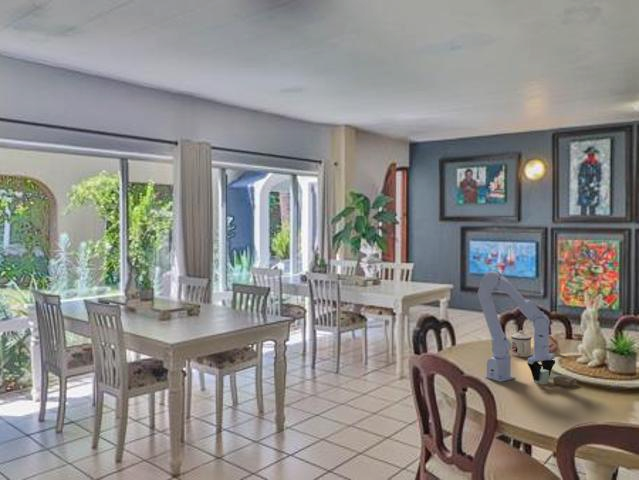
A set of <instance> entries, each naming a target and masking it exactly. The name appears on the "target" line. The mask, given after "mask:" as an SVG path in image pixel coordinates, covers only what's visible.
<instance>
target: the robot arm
mask: <svg viewBox="0 0 639 480" xmlns="http://www.w3.org/2000/svg"><path fill="white" fill-rule="evenodd" d="M495 288H496V290H499V291H504V292H505V293H506V294H507V295H508V296H509V297H511V299H513V301H515V302H516V304H517V305H518V310H519V312H520V313H522V314H523V315H524V316H525V317H526V319H527V320H529V322H531V323H532V326H533V328H534V329H533V330H534V333H533V355H531V356H529V357H527V362H526V363H527V366H528V368H529V369H530V372H531V376H532V379H533V381H534V380H536V381H539V378H540V370H541V369H545V370H549V377H550V375H551V374H552V369H553V367H554V365H555V364H556V360H554V359H556V355H555V354H553V353H550V352H549V335H550V318H549V316H548V315H547V314H545V312H544V311H541V310H540V308H539V307H537V306H536V302H534V301H532V300H530V299H525V298H524V296H522V294H521V293H520V292H519V291H518V290H517V289H516V288H515V287H514V285H513V284H512V283H511V282H510V281H509V280H508V279H507V277H506V276H504V275H502V273H501V272H499V270H490V271H488V272H487V273H485V274H484V275H483V276H482V278H481V279H480V283H479V288H478V290H477V297H478V300H479V303H480V306H481V309H482V312H483V314H484V318H485V321H486V325H487V328H488V330H489V331H488V332H489V333H490V339H491V340H490V341H491V352H492V356H491V358H489V359H487V362H486V375H484V377H485V378H487V379H489V380H492V381H496V382H499V383H501V382H505V381H509V380H513V379H516V376H513V375H512V373H511V371H512V368H511V367H512V364H511V362H512V360H511V359H512V358H511V357H512V354H510V352H509V351H511V350H512V343H511V342H510V340H508V339H507V337H506V333H505V332H504V331H503V328H502V325H501V321H500V319H499V317H498V313H497V310H496V307H495V304H494V301H493V297H492V293H493V292H494V290H495ZM539 362H540V363H539Z"/></svg>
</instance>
